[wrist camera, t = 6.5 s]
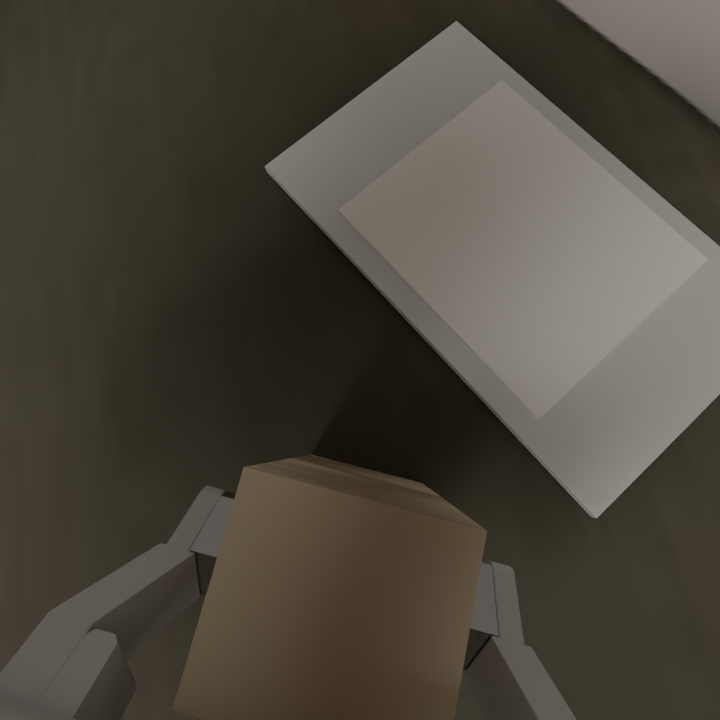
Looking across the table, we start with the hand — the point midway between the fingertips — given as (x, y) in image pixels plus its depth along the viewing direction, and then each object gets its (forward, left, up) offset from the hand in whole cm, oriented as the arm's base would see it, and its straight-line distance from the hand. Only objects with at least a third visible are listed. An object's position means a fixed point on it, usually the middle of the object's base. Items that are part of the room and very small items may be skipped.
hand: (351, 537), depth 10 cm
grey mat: (+4, +12, -6) cm, 14 cm away
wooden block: (0, -1, -6) cm, 6 cm away
